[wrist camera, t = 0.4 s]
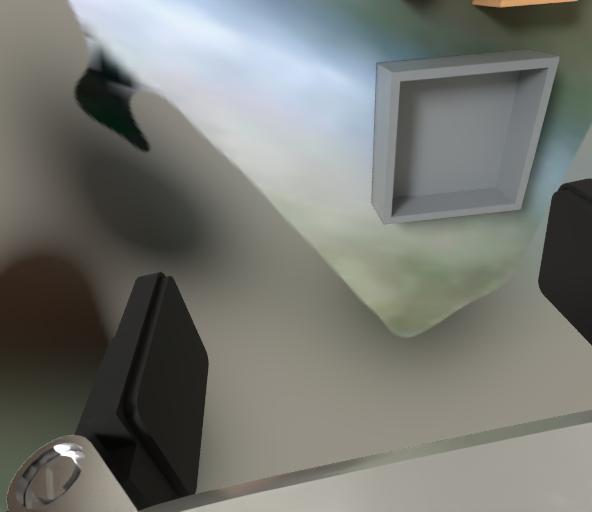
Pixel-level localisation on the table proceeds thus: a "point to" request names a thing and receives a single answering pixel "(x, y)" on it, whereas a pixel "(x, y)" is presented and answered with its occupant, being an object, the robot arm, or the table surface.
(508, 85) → the grey square tray
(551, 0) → the orange crate
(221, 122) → the table surface
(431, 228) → the table surface
